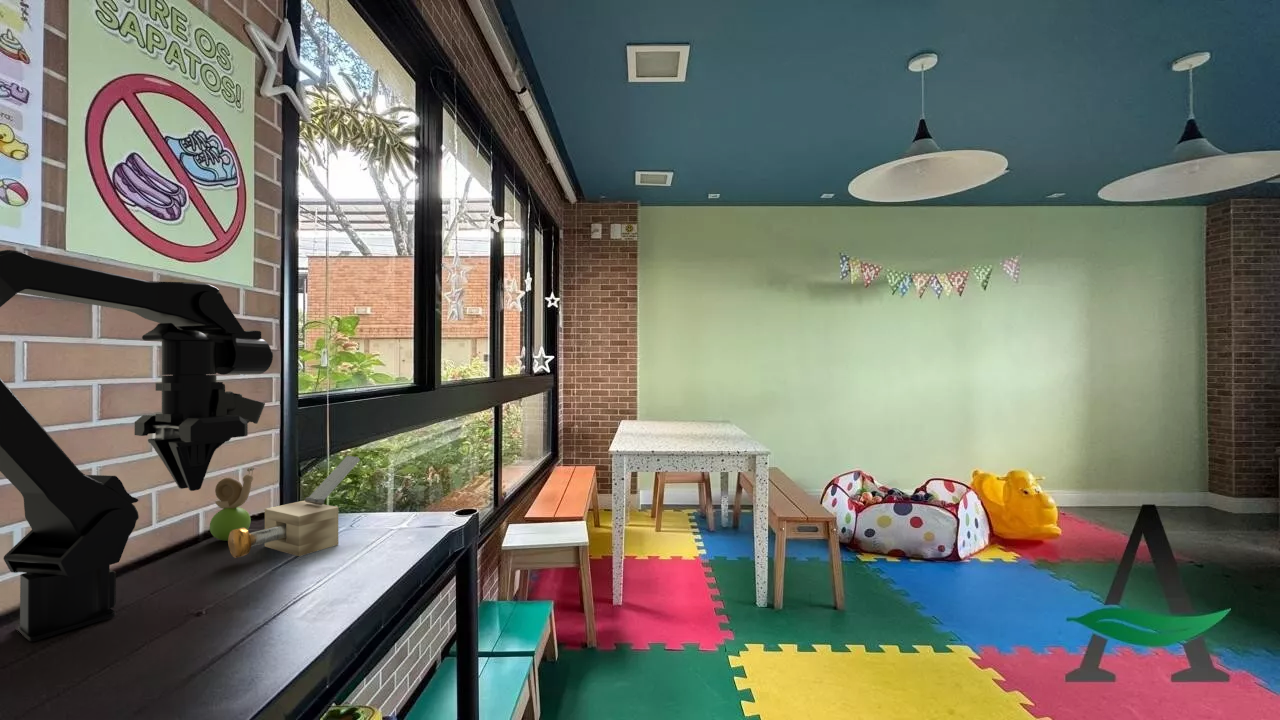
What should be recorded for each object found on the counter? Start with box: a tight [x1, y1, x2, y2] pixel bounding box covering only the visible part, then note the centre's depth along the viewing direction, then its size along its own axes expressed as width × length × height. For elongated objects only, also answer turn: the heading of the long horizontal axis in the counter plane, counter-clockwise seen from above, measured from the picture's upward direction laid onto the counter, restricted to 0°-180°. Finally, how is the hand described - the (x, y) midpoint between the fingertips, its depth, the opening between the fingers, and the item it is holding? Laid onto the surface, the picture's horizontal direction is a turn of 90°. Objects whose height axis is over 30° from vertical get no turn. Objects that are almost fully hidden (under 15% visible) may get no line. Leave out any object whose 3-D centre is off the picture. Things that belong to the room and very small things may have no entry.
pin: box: [227, 524, 286, 559], centre depth 81 cm, size 13×4×4 cm, turn 151°
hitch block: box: [264, 500, 339, 557], centre depth 84 cm, size 6×10×6 cm, turn 61°
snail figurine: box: [209, 467, 255, 542], centre depth 87 cm, size 5×6×12 cm
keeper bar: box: [304, 455, 361, 505], centre depth 88 cm, size 9×4×1 cm
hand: (189, 489), depth 71 cm, fingers open, 3 cm apart
